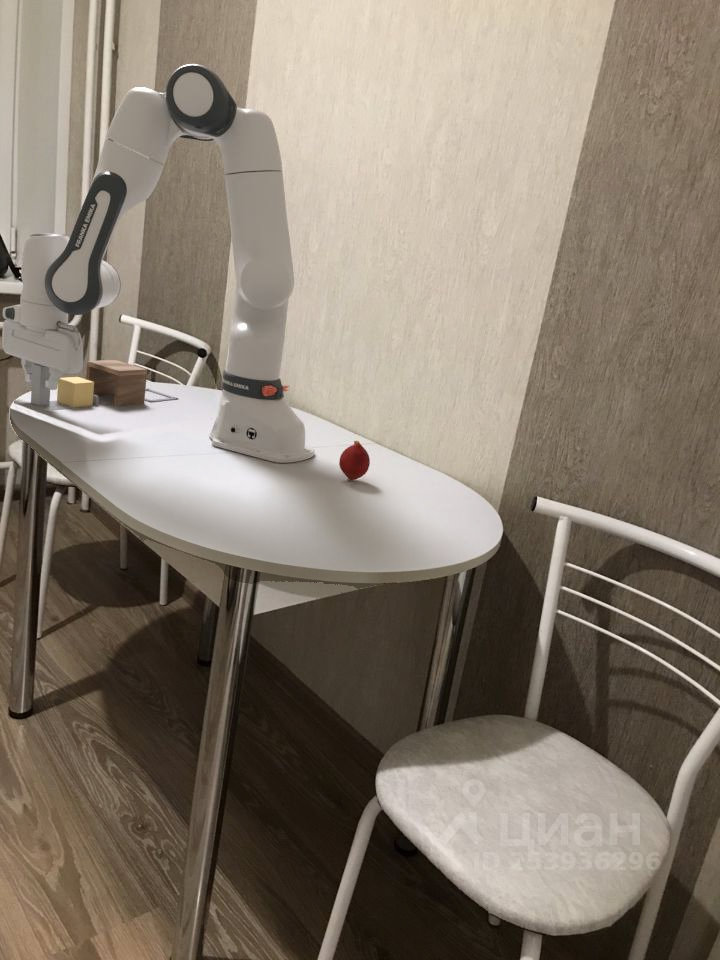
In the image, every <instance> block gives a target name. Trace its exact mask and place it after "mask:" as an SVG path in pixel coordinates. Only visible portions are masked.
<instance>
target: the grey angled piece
mask: <svg viewBox="0 0 720 960" xmlns="http://www.w3.org/2000/svg"><path fill="white" fill-rule="evenodd" d="M50 375H51V373H49V367H46V366H43V365H40V364H37V363H35V364H32V383H31V387H30V389H31V391H30V393H31V394H30V404H33V405H36V406H39V407H42V408H44V409H48V410H50V411H58V410H68V409H76V408H77V409H78V408H86V407H89V408H90V407H96V406H97V407H99V406H105V405H106V406H108V405H111V403H110V402H106V401H104V400H101V399H99V396H100V395H98V396H97V395H94V394H93V405H89V406H79V407H71V406H69V405H66V404H63V403H60V402H57V400H51V399H50V398H51V390H50V389H47V388H46V387H45V385H46V383H45V382H46V380H49V378H50Z"/></svg>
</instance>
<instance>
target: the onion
mask: <svg viewBox="0 0 720 960" xmlns="http://www.w3.org/2000/svg"><path fill="white" fill-rule="evenodd" d="M369 455H370V454H369V452H368V451H367V450H366V449H365V447H363V445H362V444H361V443H360V441H359V440H354V441H353V445H350V446H347V447H346V448H345V449H344V450H343V451H342V452H341V454H340V457H339V461H338V463H339V464H338V465H339V469H340V470H341V472H342V473H343V474H344V475H345V476H346V478H347V479H348V481H351V482H353V481H355V480H358V479H360V478H362V477H363V476H364V475H366V473H368V471H369V467H370V463H371V459H370V456H369Z"/></svg>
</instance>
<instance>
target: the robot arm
mask: <svg viewBox="0 0 720 960" xmlns="http://www.w3.org/2000/svg"><path fill="white" fill-rule="evenodd" d="M178 138H182V139H188V140H195V141H202V142H211V141H214V142H216V143H217V145H218V148H219V150H220V153H221V159H222V164H223V165H222V167H223V175H224V182H225V191H226V201H227V207H228V208H227V209H228V216H229V217H228V218H229V227H230V235H231V244H232V246H231V247H232V256H233V263H234V265H233V267H234V273H235V274H234V275H235V282H236V283H235V290H234V298H233V299H234V300H233V307H232V315H231V323H230V329H229V338H228V339H229V340H228V348H227V354H226V355H227V356H226V363H225V364H226V365H225V369H224V370H223V371H222V378H221V383H220V384H221V386H220V387H221V397H220V402H219V407H218V409H217V414H216V417H215V421H214V423H213V425H212V428H211V431H210V433H209V438H210V439H211V440H212V442H211V445H212V446H214V447H218V448H221V449H224V450H230V451H232V452H236V453H240V454H242V455H248V456H250V457H255V458H258V459H262V460H266V461H269V462H274V463H282V464H283V463H295V462H300V461H304V460H307V459H308V460H309V459H310V458H312V457H313V456H314V455H315V448H313V447H311V446H309V445H307V444H306V428H305V424H304V422H303V421H302V419H300V417H299V416H298V415H297V413H295V411H294V410H293V409H292V408H291V406H290V404H289V403H287V401H286V400H285V399H284V397H285V395H284V392H288V391H289V389H288V388H289V387H290V385H283V384H282V380H281V378H280V373H281V366H282V360H283V353H284V345H285V339H286V338H285V337H286V336H285V335H286V327H287V317H288V308H289V299H290V297H291V296H292V294H293V292H294V287H295V276H294V275H295V274H294V273H295V272H294V265H293V264H294V263H293V257H292V256H293V255H292V246H291V240H290V239H291V238H290V231H289V222H288V215H287V205H286V192H285V183H284V174H283V164H282V158H281V151H280V146H279V141H278V137H277V133H276V129H275V127H274V123H273V121H272V119H271V118H270V116H268V114H266V113H265V112H263V111H261V110H258V109H256V108H241V107H238V106H237V103H236V101H235V99H234V98H233V96H232V95H231V94H230V92H229V90H228V88H227V87H226V85H225V83H224V82H223V81H222V79H221V78H220V77H219V76H218V75H217V74H216V72H214V71H213V70H212V69H210V68H208V67H207V66H205V65H202V64H197V63H190V64H189V63H188V64H185V65H182V66H180V67H178V68H177V69H175V70H174V71H173V73H172V74H171V75H170V77H169V78H168V80H167V83H166V85H165V92H158V91H156V90H154V89H151V88H148V87H139V86H138V87H132V88H130V89H129V90H128V91H127V92H126V94H124V97H122V100H121V102H120V104H119V106H118V107H117V109H116V112H115V113H114V116H113V118H112V120H111V122H110V125H109V128H108V131H107V133H106V136H105V139H104V143H103V145H102V149H101V152H100V155H99V159H98V162H97V165H96V170H95V172H94V175H93V178H92V181H91V183H90V187H89V189H88V192H87V195H86V197H85V199H84V201H83V204H82V206H81V209H80V211H79V214H78V217H77V219H76V222H75V224H74V227H73V229H72V232H71V235H70V236H68V235H66V234H63V233H48V232H47V233H43V232H42V233H34V234H31V235H29V236H27V238H26V239H25V243H24V247H23V252H22V259H21V273H20V277H21V281H22V291H21V294H20V298H19V299H20V302H19V304H15V305H11V306H5V307H3V308H2V317H3V319H4V321H3V322H2V333H1V334H2V337H1V339H2V340H1V345H2V349H3V351H4V353H5V354H7V355H10V356H13V357H16V358H19V359H21V360H20V361H21V362H20V363H21V366H22V371H24V381H25V382H26V383H27V382H28V383H30V384H32V364H40V365H43V366H46V367H49V373H51V375H50V378H49V380H46V382H45V383H46V385H45V387H46V388H47V389H50V391H55V390H58V381H59V379H60V378H62V376H63V375H64V374H63V373H65V374H78V373H81V371H82V370H83V369H84V348H83V347H84V346H83V340H82V335H81V333H80V331H79V329H78V328H77V327H76V325H73V324H69V315H73V316H81V315H85V314H87V313H89V312H91V311H93V310H98V309H101V308H104V307H106V306H108V305H111V304H112V303H113V302H115V301H116V300H117V298H118V297H119V295H120V292H121V288H122V286H121V285H122V284H121V277H120V275H119V272H118V271H117V270H116V268H115V267H114V266H113V265H112V264H111V263H109V262H107V261H105V260H104V257H105V255H106V252H107V250H108V247H109V245H110V243H111V240H112V238H113V237H112V236H113V234H114V232H115V230H116V227H117V225H118V224H119V222H120V220H122V218H123V216H124V215H125V214H126V213H128V212H129V211H130V210H131V209H133V208H134V207H136V206H137V205H139V204H140V203H143V202H145V201H146V200H148V199H149V197H150V196H151V195H152V193H153V192H154V190H155V188H156V186H157V184H158V182H159V180H160V178H161V176H162V173H163V170H164V168H165V165H166V160H168V155H169V153H170V150H171V148H172V146H173V144H174V142H175V141H176V140H177V139H178Z"/></svg>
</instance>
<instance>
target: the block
mask: <svg viewBox="0 0 720 960" xmlns="http://www.w3.org/2000/svg"><path fill="white" fill-rule="evenodd" d="M93 391H94V382H92V381H89V380H86V378H83V377H79V376H71V377H68V376H67V377H60V379H59V381H58V387H57V392H56V394H57V395H56V396H57V397H56V401H57V402H60V403H63V404H66V405H69V406H71V407H79V406H89V405H93ZM89 407H90V406H89ZM79 408H80V407H79Z"/></svg>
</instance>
